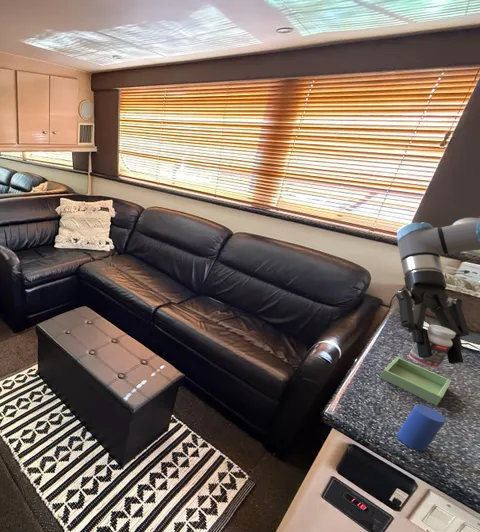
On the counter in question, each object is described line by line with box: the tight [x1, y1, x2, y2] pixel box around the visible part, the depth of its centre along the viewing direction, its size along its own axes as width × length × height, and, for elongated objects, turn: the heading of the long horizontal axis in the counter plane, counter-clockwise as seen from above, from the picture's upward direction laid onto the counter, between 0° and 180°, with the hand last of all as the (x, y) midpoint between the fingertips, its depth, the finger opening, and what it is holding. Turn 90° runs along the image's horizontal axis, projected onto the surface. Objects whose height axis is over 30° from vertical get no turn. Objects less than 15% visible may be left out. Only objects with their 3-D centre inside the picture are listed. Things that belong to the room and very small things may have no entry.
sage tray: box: [379, 356, 453, 406], centre depth 96 cm, size 13×15×3 cm
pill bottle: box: [408, 323, 456, 369], centre depth 81 cm, size 6×6×10 cm
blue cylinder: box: [396, 404, 447, 452], centre depth 73 cm, size 5×5×9 cm
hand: (440, 359), depth 78 cm, fingers closed on pill bottle, 6 cm apart
